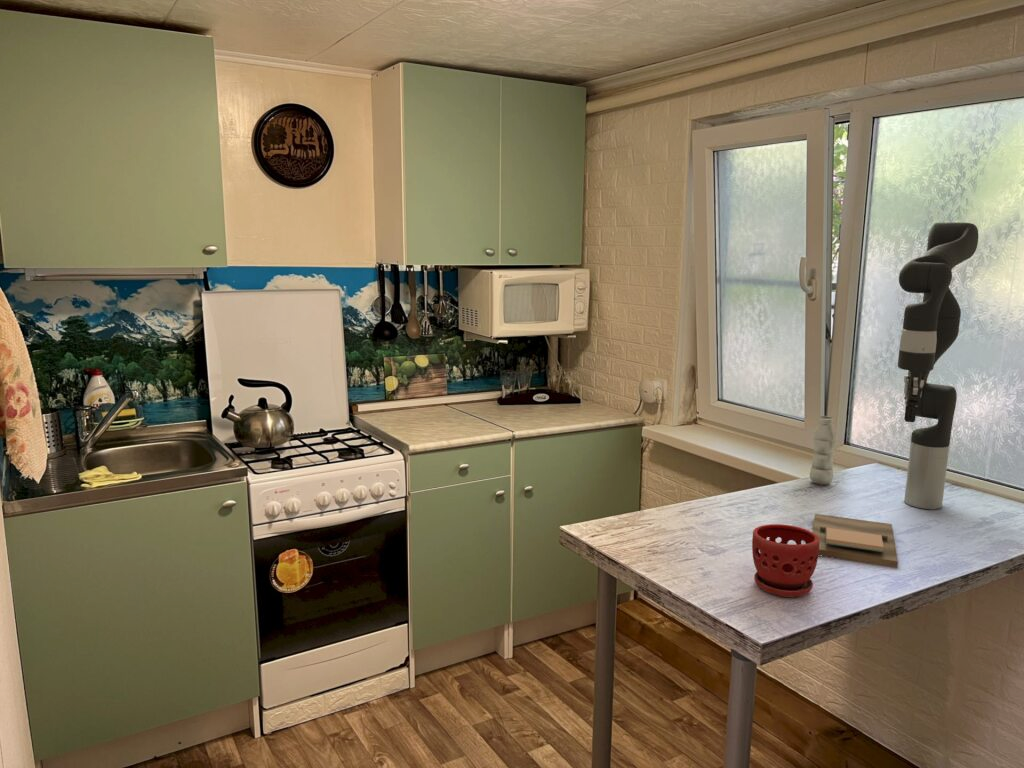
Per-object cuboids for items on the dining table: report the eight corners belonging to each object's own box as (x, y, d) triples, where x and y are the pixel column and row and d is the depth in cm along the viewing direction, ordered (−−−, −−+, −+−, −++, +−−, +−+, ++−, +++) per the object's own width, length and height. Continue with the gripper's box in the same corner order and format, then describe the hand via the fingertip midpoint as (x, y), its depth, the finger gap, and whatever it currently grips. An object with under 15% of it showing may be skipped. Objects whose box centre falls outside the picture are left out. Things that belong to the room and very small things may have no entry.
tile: (881, 535, 184) (880, 540, 184) (826, 527, 189) (826, 532, 189) (883, 546, 175) (883, 552, 175) (826, 538, 180) (825, 543, 180)
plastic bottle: (811, 486, 227) (817, 419, 223) (806, 479, 233) (812, 414, 229) (834, 487, 226) (841, 420, 222) (829, 480, 232) (835, 415, 228)
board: (814, 519, 202) (815, 509, 201) (891, 529, 195) (892, 519, 194) (810, 554, 180) (811, 543, 179) (897, 567, 173) (898, 556, 173)
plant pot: (828, 590, 162) (833, 536, 160) (789, 607, 155) (794, 551, 152) (774, 568, 173) (778, 517, 170) (736, 583, 165) (739, 530, 163)
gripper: (938, 354, 174) (929, 429, 178) (932, 346, 186) (924, 416, 190) (901, 352, 177) (893, 426, 180) (897, 344, 189) (890, 413, 192)
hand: (909, 421), depth 185 cm, fingers closed
